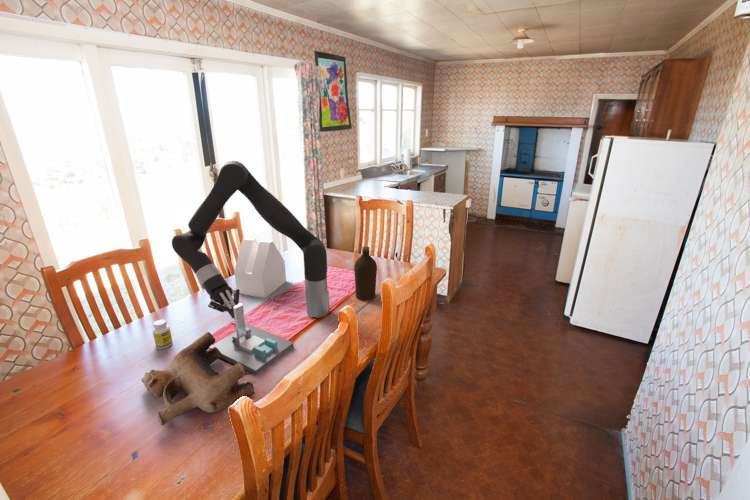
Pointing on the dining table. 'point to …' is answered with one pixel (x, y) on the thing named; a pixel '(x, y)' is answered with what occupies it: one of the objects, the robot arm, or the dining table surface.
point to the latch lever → (239, 320)
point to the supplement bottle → (162, 334)
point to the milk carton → (259, 268)
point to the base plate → (253, 348)
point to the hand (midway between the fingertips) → (237, 317)
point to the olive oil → (365, 276)
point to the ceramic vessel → (197, 381)
